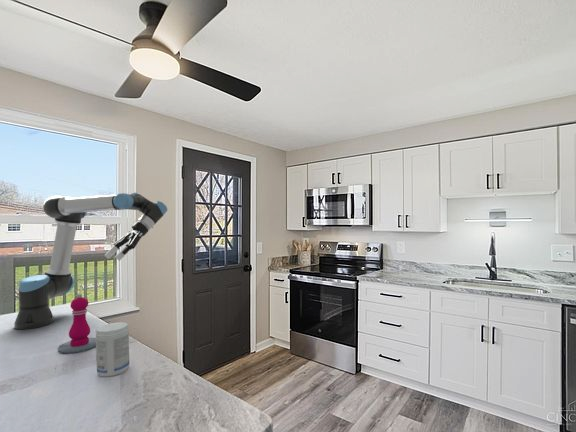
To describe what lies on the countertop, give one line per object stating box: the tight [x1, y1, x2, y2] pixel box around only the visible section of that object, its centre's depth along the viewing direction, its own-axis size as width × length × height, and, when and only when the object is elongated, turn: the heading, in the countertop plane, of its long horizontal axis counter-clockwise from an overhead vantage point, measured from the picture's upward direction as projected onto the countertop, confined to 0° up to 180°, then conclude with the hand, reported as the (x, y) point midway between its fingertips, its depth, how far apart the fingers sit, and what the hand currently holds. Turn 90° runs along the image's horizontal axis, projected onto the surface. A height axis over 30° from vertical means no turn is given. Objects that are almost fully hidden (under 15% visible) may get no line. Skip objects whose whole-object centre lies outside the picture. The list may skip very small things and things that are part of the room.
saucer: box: [57, 337, 96, 355], centre depth 127 cm, size 14×14×1 cm
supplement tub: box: [95, 321, 130, 378], centre depth 105 cm, size 10×10×15 cm
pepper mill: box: [68, 293, 91, 347], centre depth 127 cm, size 7×7×20 cm
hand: (111, 258), depth 151 cm, fingers open, 13 cm apart
